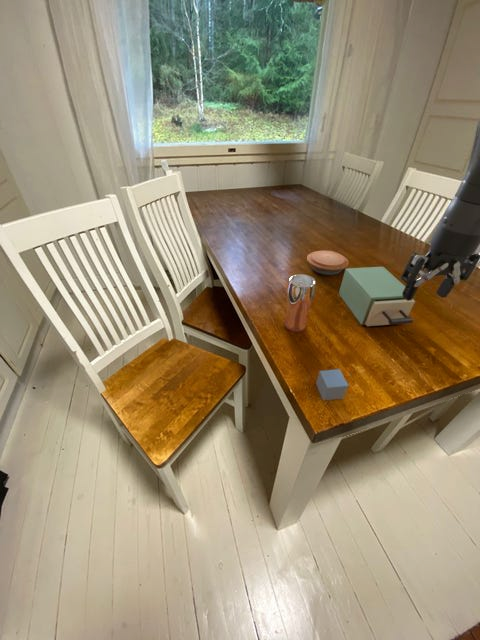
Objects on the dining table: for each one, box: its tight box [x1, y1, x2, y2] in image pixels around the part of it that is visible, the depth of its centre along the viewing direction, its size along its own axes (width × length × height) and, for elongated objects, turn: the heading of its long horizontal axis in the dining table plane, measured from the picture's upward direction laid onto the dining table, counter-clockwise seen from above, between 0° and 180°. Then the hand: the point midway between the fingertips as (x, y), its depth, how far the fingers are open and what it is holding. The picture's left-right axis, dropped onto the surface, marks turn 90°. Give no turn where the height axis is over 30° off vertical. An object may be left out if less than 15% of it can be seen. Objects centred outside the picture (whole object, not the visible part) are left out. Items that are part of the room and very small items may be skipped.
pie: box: [306, 250, 349, 276], centre depth 105 cm, size 16×16×5 cm
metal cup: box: [284, 273, 317, 333], centre depth 74 cm, size 7×7×15 cm
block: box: [315, 368, 349, 402], centre depth 60 cm, size 5×5×5 cm
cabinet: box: [338, 266, 415, 326], centre depth 83 cm, size 17×13×10 cm
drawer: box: [365, 298, 416, 327], centre depth 80 cm, size 20×11×8 cm, turn 7°
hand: (423, 297), depth 61 cm, fingers open, 8 cm apart
